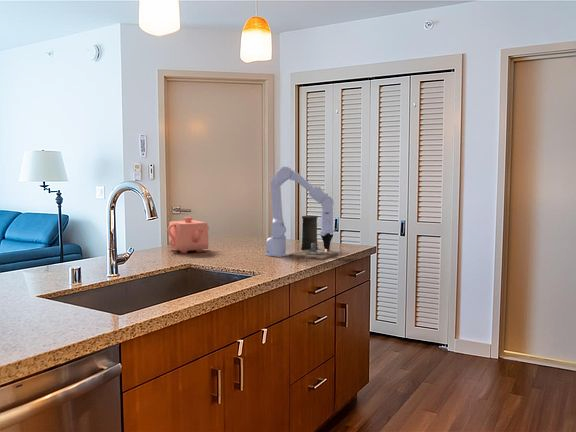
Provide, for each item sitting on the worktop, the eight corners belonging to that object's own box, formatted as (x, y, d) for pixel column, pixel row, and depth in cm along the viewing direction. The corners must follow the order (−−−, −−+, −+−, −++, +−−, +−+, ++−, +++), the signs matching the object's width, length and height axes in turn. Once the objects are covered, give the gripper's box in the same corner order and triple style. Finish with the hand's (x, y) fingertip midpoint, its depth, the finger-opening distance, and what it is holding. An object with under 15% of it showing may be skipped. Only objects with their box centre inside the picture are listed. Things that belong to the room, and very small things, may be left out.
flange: (304, 253, 252) (304, 243, 252) (306, 251, 260) (306, 241, 260) (329, 254, 251) (329, 244, 250) (330, 252, 259) (330, 242, 258)
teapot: (222, 253, 263) (221, 218, 261) (180, 257, 250) (179, 220, 248) (201, 247, 283) (200, 214, 282) (161, 250, 270) (161, 216, 269)
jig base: (288, 256, 253) (288, 244, 252) (306, 252, 268) (307, 240, 268) (321, 260, 244) (321, 247, 243) (338, 255, 259) (338, 242, 258)
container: (320, 249, 278) (321, 216, 276) (312, 251, 270) (312, 217, 269) (306, 247, 283) (306, 215, 281) (297, 249, 275) (298, 216, 274)
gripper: (330, 222, 243) (330, 251, 245) (339, 220, 257) (338, 247, 258) (316, 222, 246) (316, 250, 247) (325, 219, 260) (325, 246, 261)
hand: (326, 248), depth 253 cm, fingers closed
